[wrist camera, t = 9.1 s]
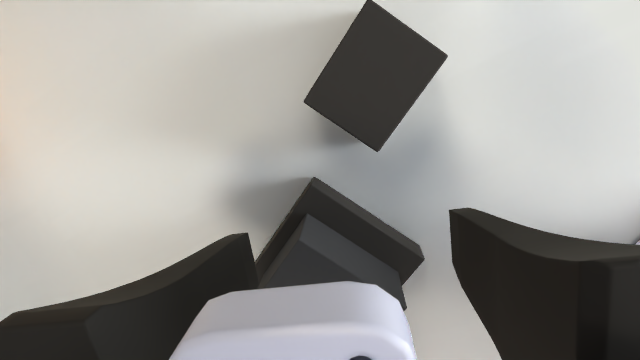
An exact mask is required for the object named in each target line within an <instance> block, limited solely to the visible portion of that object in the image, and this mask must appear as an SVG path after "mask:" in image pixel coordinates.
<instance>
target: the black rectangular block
mask: <svg viewBox="0 0 640 360" xmlns="http://www.w3.org/2000/svg"><path fill="white" fill-rule="evenodd" d="M342 281H351V282H359V283H366V284H373V285H377V286H378V287H380V288H381V289H383V290H384V291H386V292H387V293H388V294H390V295H391V296H393V297H394V298H396V299H397V300H398V301H399V302H400V305H401V307H402V309H403V312H404V311H405V310H406V308H407V306H406V302H405V298H404V294H403V290H402V286H401V282H400V278H399V274H398V271H396V270H394V269H393V268H391V267H390V266H388V265H387V264H385V263H384V262H382V261H381V260H379V259H377V258H376V257H374V256H373V255H371V254H370V253H368V252H367V251H365V250H363V249H362V248H360V247H359V246H357V245H356V244H354V243H353V242H351V241H350V240H348V239H346V238H345V237H343V236H342V235H340V234H339V233H337V232H336V231H334V230H332V229H331V228H329V227H328V226H326V225H325V224H323V223H322V222H320V221H319V220H317V219H315V218H314V217H312V216H311V215H309V214H306V215H305V216H304V218H303V219H302V221H301V222H300V224H299V225H298V226H297V228H296V229H295V231H294V232H293V234H292V235H291V236H290V238H289V239H288V241H287V242H286V243H285V245H284V246H283V248H282V249H281V251H280V252H279V253H278V255H277V256H276V258H275V259H274V260H273V262H272V263H271V265H270V266H269V268H268V269H267V270H266V272H265V273H264V275H263V277H262V279H261V282H260V284H259V286H258V289H267V288H277V287H288V286H299V285H310V284H321V283H331V282H342Z"/></svg>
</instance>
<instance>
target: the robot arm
mask: <svg viewBox="0 0 640 360" xmlns="http://www.w3.org/2000/svg"><path fill="white" fill-rule="evenodd" d="M449 216H450V232H451V248H452V263H453V266H454V269H455V271H456V274H457V277H458V279H459V281H460V284H461V286H462V288H463V290H464V292H465V293H466V295H467V297H468V299H469V300H470V302H471V304H472V306H473V307H474V309H475V311H476V313H477V314H478V316H479V318H480V319H481V321H482V323H483V325H484V326H485V328H486V330H487V331H488V333H489V335H490V336H491V338H492V340H493V342H494V344H495V346H496V348H497V350H498V352H499V354H500V356H501V359H502V360H640V240H639V241H638V242H637V243H636V244H635V245H630V244H618V243H608V242H600V241H592V240H585V239H579V238H573V237H567V236H563V235H558V234H553V233H548V232H544V231H540V230H537V229H533V228H530V227H526V226H523V225H520V224H517V223H513V222H510V221H507V220H505V219H502V218H499V217H496V216H493V215H490V214H488V213H485V212H482V211H479V210H476V209H472V208H461V209H453V210H449ZM258 284H259V280H258V275H257V271H256V267H255V262H254V258H253V253H252V249H251V245H250V240H249V236H248V233H240V234H232V235H229V236H226V237H224V238H222V239H220V240H218V241H216V242H214V243H212V244H210V245H208V246H207V247H205V248H203V249H201V250H200V251H198V252H196V253H194V254H192V255H190V256H189V257H187V258H185V259H183V260H181V261H179V262H177V263H175V264H173V265H171V266H169V267H167V268H165V269H163V270H161V271H159V272H157V273H154V274H152V275H149V276H147V277H145V278H142V279H140V280H137V281H135V282H132V283H129V284H126V285H123V286H120V287H117V288H114V289H111V290H109V291H105V292H102V293H98V294H95V295H92V296H88V297H84V298H80V299H76V300H72V301H68V302H64V303H59V304H54V305H49V306H44V307H39V308H34V309H29V310H23V311H18V312H15V313H12V314H11V315H9V316H8V317H7V318H5V319H4V320H2V321H1V322H0V360H417V356H416V352H415V348H414V344H413V340H412V335H411V331H410V327H409V323H408V321H407V318H406V316H405V314H404V312H403V309H402V307H401V305H400V302H399V301H398V300H397V299H396V298H394V297H393V296H391V295H390V294H388V293H387V292H386V291H384V290H383V289H381V288H380V287H378V286H377V285H373V284H366V283H359V282H351V281H342V282H331V283H321V284H310V285H299V286H288V287H277V288H267V289H257V288H258Z"/></svg>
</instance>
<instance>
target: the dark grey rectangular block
mask: <svg viewBox="0 0 640 360" xmlns="http://www.w3.org/2000/svg"><path fill="white" fill-rule="evenodd" d="M447 57H448V56H447V54H445V53H444V52H443V51H441V50H440V49H438V48H437V47H436V46H434V45H433V44H432V43H430V42H429V41H427V40H426V39H425V38H423V37H422V36H420V35H419V34H418V33H416V32H415V31H414V30H412V29H411V28H409V27H408V26H407V25H405V24H404V23H402V22H401V21H400V20H398V19H397V18H396V17H394V16H393V15H391V14H390V13H389V12H387V11H386V10H385V9H383V8H382V7H380V6H379V5H378V4H376V3H375V2H373V1H372V0H367V1H366V3H365V4H364V6H363V7H362V9H361V11H360V12H359V14H358V15H357V17H356V18H355V20H354V22H353V23H352V25H351V26H350V28H349V30H348V31H347V33H346V34H345V36H344V38H343V39H342V41H341V42H340V44H339V46H338V47H337V49H336V50H335V52H334V53H333V55H332V57H331V58H330V60H329V61H328V63H327V65H326V66H325V68H324V69H323V71H322V73H321V74H320V76H319V77H318V79H317V80H316V82H315V84H314V85H313V87H312V88H311V90H310V92H309V93H308V95H307V96H306V98H305V100H304V103H305V104H307V105H308V106H310V107H311V108H313V109H314V110H316V111H317V112H319V113H320V114H321V115H323V116H324V117H326V118H327V119H329V120H330V121H332V122H333V123H335V124H336V125H338V126H339V127H341V128H342V129H344V130H345V131H347V132H348V133H350V134H351V135H352V136H354V137H355V138H357V139H358V140H360V141H361V142H363V143H364V144H366V145H367V146H369V147H370V148H372V149H373V150H375V151H376V152H378V151H379V150H380V149H381V147H382V146H383V145H384V143H385V142H386V141H387V139H388V138H389V137H390V135H391V134H392V132H393V131H394V130H395V128H396V127H397V126H398V124H399V123H400V122H401V120H402V119H403V117H404V116H405V115H406V113H407V112H408V111H409V109H410V108H411V107H412V105H413V104H414V102H415V101H416V100H417V98H418V97H419V96H420V94H421V93H422V91H423V90H424V89H425V87H426V86H427V85H428V83H429V82H430V81H431V79H432V78H433V76H434V75H435V74H436V72H437V71H438V70H439V68H440V67H441V66H442V64H443V63H444V61H445V60H446V59H447Z"/></svg>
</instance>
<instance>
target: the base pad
mask: <svg viewBox="0 0 640 360" xmlns="http://www.w3.org/2000/svg"><path fill="white" fill-rule="evenodd" d="M306 214H309V215H311V216H312V217H314V218H315V219H317V220H319V221H320V222H322V223H323V224H325V225H326V226H328V227H329V228H331V229H332V230H334V231H336V232H337V233H339V234H340V235H342V236H343V237H345V238H346V239H348V240H350V241H351V242H353V243H354V244H356V245H357V246H359V247H360V248H362V249H363V250H365V251H367V252H368V253H370V254H371V255H373V256H374V257H376V258H377V259H379V260H381V261H382V262H384V263H385V264H387V265H388V266H390V267H391V268H393V269H394V270H396V271H398V274H399V278H400V282H401V286H402V285H403V284H404V283H405V282H406V280H407V279H408V278H409V277H410V276H411V275H412V274H413V272H414V271H415V270H416V269H417V268H418V267H419V265H420V264H421V263H422V262H423V261H424V259H425V258H424V256H423V254H422V251H421V249H420V246H419V245H418V244H416V243H415V242H413V241H412V240H410V239H409V238H407V237H406V236H404V235H403V234H401V233H400V232H398V231H396V230H395V229H393V228H392V227H390V226H389V225H387V224H386V223H384V222H383V221H381V220H380V219H378V218H377V217H375V216H374V215H372V214H371V213H369V212H368V211H366V210H365V209H363V208H362V207H360V206H358V205H357V204H355V203H354V202H352V201H351V200H349V199H348V198H346V197H345V196H343V195H342V194H340V193H339V192H337V191H336V190H334V189H333V188H331V187H330V186H328V185H327V184H325V183H323V182H322V181H320V180H319V179H317V178H316V177H313V178H312V180H311V181H310V183H309V184H308V186H307V187H306V189H305V190H304V192H303V193H302V194H301V196H300V197H299V199H298V200H297V202H296V203H295V205H294V206H293V208H292V209H291V211H290V212H289V213H288V215H287V216H286V218H285V219H284V221H283V222H282V224H281V225H280V227H279V228H278V229H277V231H276V232H275V234H274V235H273V237H272V238H271V240H270V241H269V243H268V244H267V245H266V247H265V248H264V250H263V251H262V253H261V254H260V256H259V257H258V259H257V260H256V262H255V267H256V271H257V275H258V280H259V284H260V282H261V279H262V277H263V275H264V273H265V272H266V270H267V269H268V268H269V266H270V265H271V263H272V262H273V260H274V259H275V258H276V256H277V255H278V253H279V252H280V251H281V249H282V248H283V246H284V245H285V243H286V242H287V241H288V239H289V238H290V236H291V235H292V234H293V232H294V231H295V229H296V228H297V226H298V225H299V224H300V222H301V221H302V219H303V218H304V216H305V215H306ZM259 284H258V286H259ZM257 289H258V288H257Z"/></svg>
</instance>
